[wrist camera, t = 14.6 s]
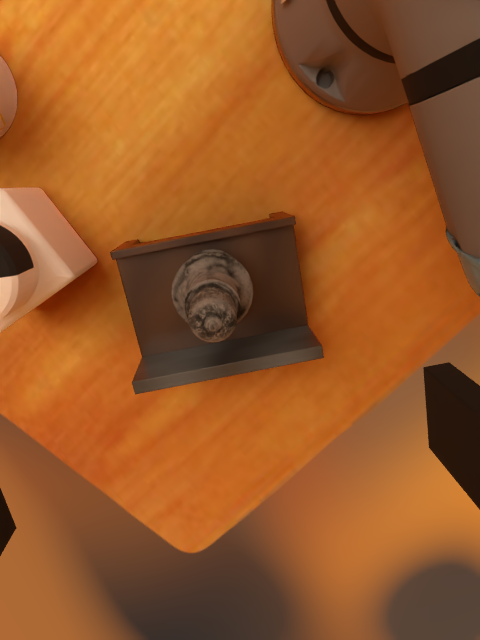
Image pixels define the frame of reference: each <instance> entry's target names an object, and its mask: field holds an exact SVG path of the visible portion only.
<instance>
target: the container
mask: <svg viewBox="0 0 480 640" xmlns="http://www.w3.org/2000/svg"><path fill="white" fill-rule="evenodd" d="M96 263H97V258H96V257H95V255H94V254H93V253H92V252H91V250H90V249H89V248H88V247H87V245H86V244H85V243H84V242H83V240H82V239H81V238H80V237H79V235H78V234H77V233H76V231H75V230H74V229H73V228H72V226H71V225H70V224H69V223H68V221H67V220H66V219H65V218H64V216H63V215H62V214H61V213H60V211H59V210H58V209H57V208H56V206H55V205H54V204H53V202H52V201H51V200H50V199H49V197H48V196H47V195H46V194H45V192H44V191H43V190H42V189H41V188H38V187H33V188H0V333H1V332H2V331H3V330H5V329H6V328H8V327H9V326H11V325H12V324H13V323H15V322H16V321H18V320H19V319H20V318H22V317H23V316H25V315H26V314H27V313H29V312H30V311H32V310H33V309H35V308H36V307H37V306H39V305H40V304H41V303H43V302H44V301H46V300H47V299H48V298H50V297H51V296H53V295H54V294H55V293H57V292H58V291H59V290H61V289H62V288H64V287H65V286H66V285H68V284H69V283H71V282H72V281H73V280H75V279H76V278H77V277H79V276H80V275H82V274H83V273H84V272H86V271H87V270H89V269H90V268H91V267H93V266H94V265H95V264H96Z"/></svg>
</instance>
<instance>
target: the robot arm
mask: <svg viewBox="0 0 480 640" xmlns="http://www.w3.org/2000/svg"><path fill="white" fill-rule="evenodd" d="M272 23H273V30H274V35H275V40H276V43H277V47H278V50H279V52H280V55H281V58H282V60H283V62H284V64H285V66H286V68H287V69H288V71H289V73H290V74H291V76H292V77H293V78H294V80H295V81H296V82H297V84H298V85H299V86H300V87H301V88H302V89H303V90H304V91H305V92H306V93H307V94H308V95H310V96H311V97H312V98H314V99H315V100H316V101H318V102H319V103H321V104H323V105H325V106H327V107H329V108H331V109H334V110H337V111H340V112H344V113H349V114H359V115H364V114H375V113H380V112H385V111H388V110H391V109H394V108H396V107H399V106H401V105H403V104H405V103H408V102H409V108H410V111H411V114H412V117H413V120H414V124H415V127H416V130H417V133H418V136H419V140H420V143H421V146H422V149H423V152H424V156H425V159H426V162H427V165H428V168H429V171H430V175H431V178H432V181H433V184H434V187H435V191H436V194H437V197H438V200H439V203H440V206H441V210H442V213H443V216H444V219H445V222H446V235H447V239H448V241H449V243H450V245H451V246H452V248H453V249H454V250H455V251H456V252H457V254H458V257H459V259H460V262H461V265H462V267H463V270H464V272H465V275H466V278H467V280H468V282H469V284H470V286H471V287H472V289H473V290H474V291H475V293H476V294H477V295H478V296H480V0H272ZM424 381H425V396H426V409H427V424H428V439H429V448H430V449H431V450H432V452H433V453H434V454H435V455H436V457H437V458H438V459H439V460H440V461H441V463H442V464H443V465H444V466H445V468H446V469H447V470H448V471H449V472H450V474H451V475H452V476H453V477H454V479H455V480H456V481H457V482H458V483H459V485H460V486H461V487H462V488H463V490H464V491H465V492H466V493H467V495H468V496H469V497H470V498H471V499H472V501H473V502H474V503H475V504H476V505H477V507H478V508H479V509H480V386H479V385H478V384H476V383H475V382H474V381H473V380H471V379H470V378H469V377H467V376H466V375H465V374H464V373H462V372H461V371H460V370H458V369H457V368H456V367H454V366H453V365H452V364H450V363H444V364H438V365H433V366H428V367H424ZM15 529H16V526H15V523H14V521H13V518H12V516H11V513H10V511H9V508H8V506H7V504H6V501H5V498H4V496H3V494H2V491H1V489H0V556H1V554H2V552H3V550H4V548H5V547H6V545H7V543H8V541H9V540H10V538H11V536H12V534H13V533H14V531H15Z"/></svg>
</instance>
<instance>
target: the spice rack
mask: <svg viewBox="0 0 480 640" xmlns="http://www.w3.org/2000/svg"><path fill="white" fill-rule="evenodd" d="M269 215H270V218H269V219H264V220H259V221H254V222H248V223H243V224H238V225H233V226H228V227H222V228H217V229H212V230H207V231H202V232H197V233H191V234H186V235H181V236H176V237H171V238H166V239H160V240H155V241H150V242H145V243H139V240H138V239H137V240H132V241H127V242H125V243H123V244H122V245H120V246H119V247H117V248H116V249H114V250H113V251H111V252H110V253H111V257H112V260H114V259H116V261H117V264H118V268H119V272H120V276H121V279H122V283H123V287H124V291H125V294H126V298H127V302H128V306H129V309H130V313H131V317H132V321H133V324H134V328H135V332H136V336H137V339H138V343H139V347H140V351H141V354H142V359H141V361H140V364H139V366H138V369H137V371H136V374H135V376H134V378H133V381H132V385H133V388H134V392H135V394H139V393H145V392H150V391H155V390H160V389H165V388H170V387H175V386H181V385H186V384H191V383H196V382H201V381H206V380H212V379H217V378H222V377H227V376H232V375H237V374H243V373H248V372H253V371H258V370H263V369H268V368H274V367H279V366H284V365H289V364H294V363H299V362H304V361H310V360H315V359H320V358H324V356H323V349H322V345H321V343H320V342H319V340H318V339H317V337H316V336H315V334H314V333H313V331H312V330H311V328H310V327H309V326H308V321H307V314H306V307H305V300H304V293H303V287H302V280H301V273H300V266H299V259H298V252H297V246H296V239H295V232H294V225H295V224H296V221H295V216H292V215H290V214H287V213H285V212H277V213H272V214H269ZM210 249H215V250H222V251H224V252H226V253H229V254H230V255H232V256H233V257H234V258H235V259H237V261H238V262H240V263H241V264H242V265H243V266H244V268H245V269H246V270H247V272H248V273H249V276H250V278H251V281H252V285H253V298H252V304H251V306H250V308H249V310H248V312H247V314H246V315H245V316H244V317H243V319H242V320H241V321H240V322H238V323H237V324H236V327H235V329H234V331H233V332H232V334H231V335H230V336H229V337H228V338H226V339H225V340H222V341H219V342H206V341H204V340H201V339H200V338H198V337H197V336H196V335H195V334H194V333H193V332H192V331H191V328H190V326H189V324H188V323H187V322H185V321H184V320H183V319H182V317H181V316H180V315H179V314H178V313H177V311H176V308H175V306H174V304H173V299H172V293H171V292H172V283H173V280H174V278H175V275H176V273H177V271H178V270H179V268H180V267H181V266H182V265H183V263H185V262H186V261H187V260H188V259H189V258H190V257H192V256H193V255H194V254H196V253H198V252H201V251H203V250H210Z"/></svg>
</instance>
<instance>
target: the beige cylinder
mask: <svg viewBox="0 0 480 640" xmlns="http://www.w3.org/2000/svg"><path fill="white" fill-rule="evenodd" d="M16 110H17V90H16V85H15V81H14V78H13V76H12V73H11V71H10V69H9V67H8V66H7V64H6V62H5V61H4V60H3V58H2V57H1V56H0V137H2V136H3V135H4V134H5V133H6V131H7V130H8V129H9V127H10V126H11V124H12V122H13V120H14V117H15V114H16Z"/></svg>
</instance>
